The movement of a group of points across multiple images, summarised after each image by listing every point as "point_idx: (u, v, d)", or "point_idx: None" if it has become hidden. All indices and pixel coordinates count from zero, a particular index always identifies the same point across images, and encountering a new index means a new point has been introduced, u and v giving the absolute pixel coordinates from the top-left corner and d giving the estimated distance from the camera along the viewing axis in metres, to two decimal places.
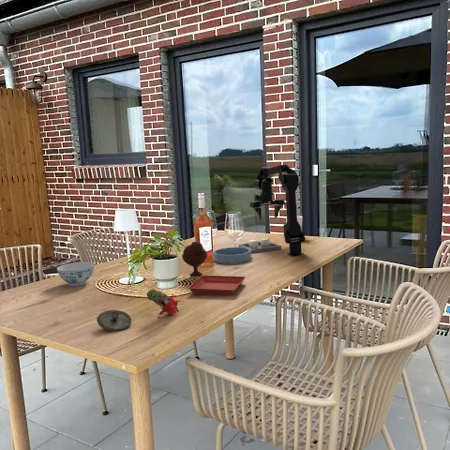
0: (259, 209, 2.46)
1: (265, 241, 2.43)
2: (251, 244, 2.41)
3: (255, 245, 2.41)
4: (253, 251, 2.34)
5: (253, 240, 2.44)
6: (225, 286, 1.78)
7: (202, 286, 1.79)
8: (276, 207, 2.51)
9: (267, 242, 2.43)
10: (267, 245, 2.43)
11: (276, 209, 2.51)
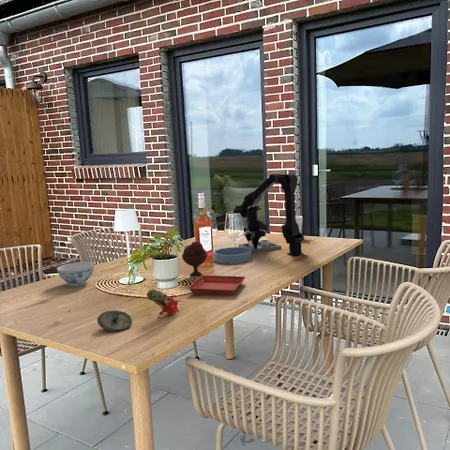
0: (245, 235, 2.45)
1: (265, 241, 2.43)
2: (251, 244, 2.41)
3: None
4: (253, 251, 2.34)
5: None
6: (225, 286, 1.78)
7: (202, 286, 1.79)
8: None
9: (267, 242, 2.43)
10: (267, 245, 2.43)
11: None
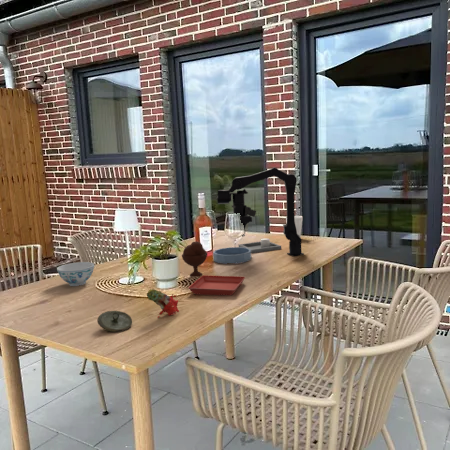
0: None
1: (265, 241, 2.43)
2: None
3: None
4: (253, 251, 2.34)
5: None
6: (225, 286, 1.78)
7: (202, 286, 1.79)
8: None
9: (267, 242, 2.43)
10: (267, 245, 2.43)
11: None
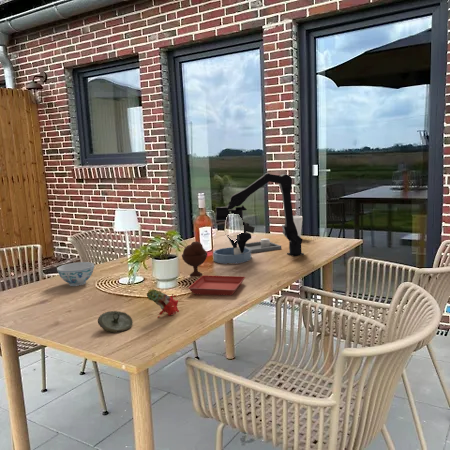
0: (228, 237, 2.29)
1: (265, 241, 2.43)
2: (236, 252, 2.24)
3: (240, 253, 2.24)
4: (253, 251, 2.34)
5: (238, 247, 2.27)
6: (225, 286, 1.78)
7: (202, 286, 1.79)
8: None
9: (267, 242, 2.43)
10: (267, 245, 2.43)
11: None
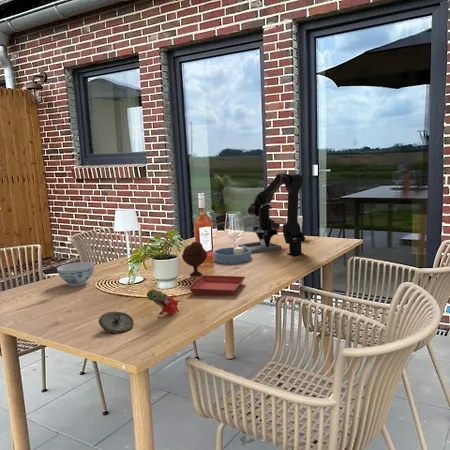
0: None
1: None
2: (236, 252, 2.24)
3: (240, 253, 2.24)
4: (253, 251, 2.34)
5: (238, 247, 2.27)
6: (225, 286, 1.78)
7: (202, 286, 1.79)
8: None
9: None
10: None
11: None
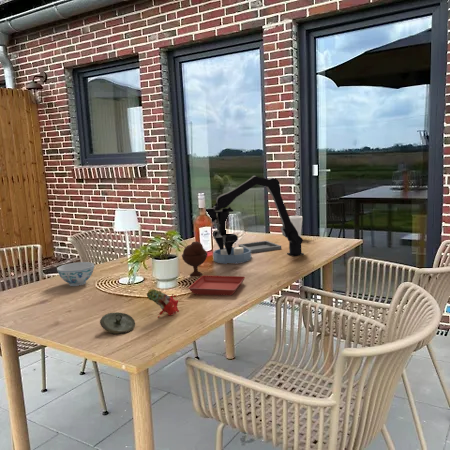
0: (215, 239, 2.27)
1: (225, 252, 2.21)
2: (236, 252, 2.24)
3: (241, 253, 2.24)
4: (253, 251, 2.34)
5: (238, 247, 2.27)
6: (225, 286, 1.78)
7: (202, 286, 1.79)
8: None
9: None
10: None
11: None
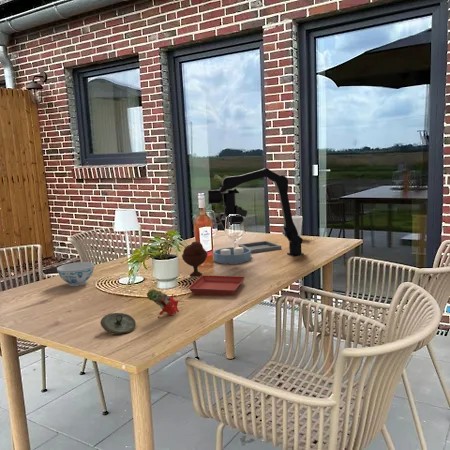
0: (220, 221, 2.27)
1: (225, 252, 2.21)
2: (236, 252, 2.24)
3: (241, 253, 2.24)
4: (253, 251, 2.34)
5: (238, 247, 2.27)
6: (225, 286, 1.78)
7: (202, 286, 1.79)
8: None
9: (227, 253, 2.21)
10: None
11: None
